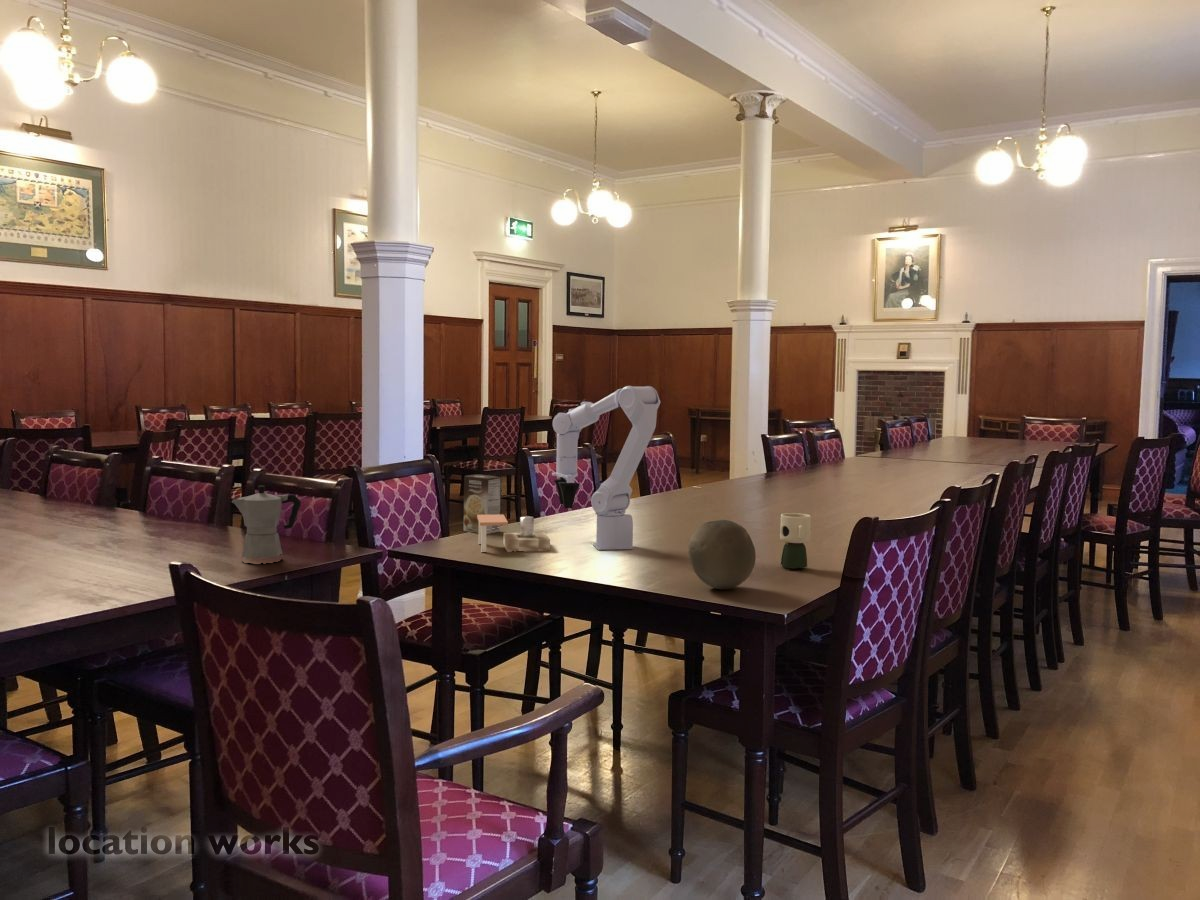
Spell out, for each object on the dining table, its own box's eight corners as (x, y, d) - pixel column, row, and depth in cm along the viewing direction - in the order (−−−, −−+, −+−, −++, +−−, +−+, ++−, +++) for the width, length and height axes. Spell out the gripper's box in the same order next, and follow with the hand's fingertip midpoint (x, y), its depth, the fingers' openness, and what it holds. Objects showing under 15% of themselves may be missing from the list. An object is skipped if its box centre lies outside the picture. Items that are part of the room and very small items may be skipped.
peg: (532, 546, 241) (532, 516, 241) (534, 548, 238) (534, 518, 237) (518, 546, 240) (519, 516, 240) (520, 548, 237) (521, 518, 236)
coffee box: (462, 531, 262) (462, 475, 261) (476, 528, 268) (477, 473, 267) (486, 534, 258) (487, 478, 256) (501, 531, 263) (501, 476, 262)
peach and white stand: (503, 543, 244) (503, 514, 244) (507, 552, 232) (507, 522, 231) (476, 543, 243) (477, 514, 242) (479, 553, 230) (480, 522, 230)
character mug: (773, 563, 224) (775, 511, 223) (802, 564, 225) (804, 511, 224) (785, 573, 213) (787, 518, 212) (815, 573, 214) (817, 518, 213)
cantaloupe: (694, 580, 204) (696, 514, 203) (758, 585, 200) (760, 518, 199) (681, 594, 190) (683, 523, 189) (749, 600, 186) (752, 527, 185)
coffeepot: (233, 566, 209) (232, 488, 207) (231, 558, 217) (230, 484, 216) (303, 562, 215) (303, 486, 214) (298, 554, 224) (298, 482, 222)
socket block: (544, 543, 246) (544, 532, 245) (549, 551, 235) (550, 539, 235) (503, 543, 243) (503, 532, 243) (507, 551, 233) (507, 540, 232)
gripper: (548, 454, 256) (548, 502, 257) (556, 459, 242) (555, 510, 243) (573, 454, 257) (572, 502, 258) (582, 459, 243) (581, 509, 244)
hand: (566, 506), depth 250 cm, fingers open, 7 cm apart
